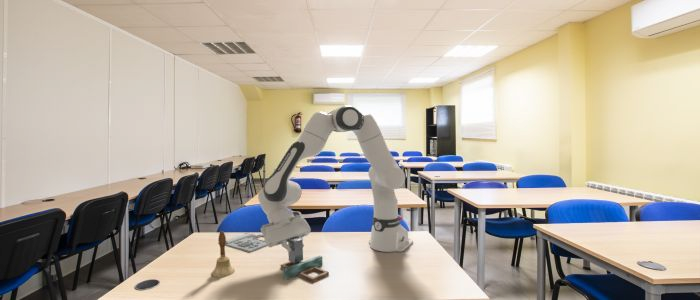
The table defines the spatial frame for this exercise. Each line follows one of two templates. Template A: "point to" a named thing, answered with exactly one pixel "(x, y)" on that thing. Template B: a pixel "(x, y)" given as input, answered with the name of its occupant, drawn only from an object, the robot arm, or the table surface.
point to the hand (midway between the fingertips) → (296, 249)
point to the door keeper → (304, 269)
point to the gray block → (296, 249)
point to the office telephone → (246, 242)
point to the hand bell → (222, 260)
